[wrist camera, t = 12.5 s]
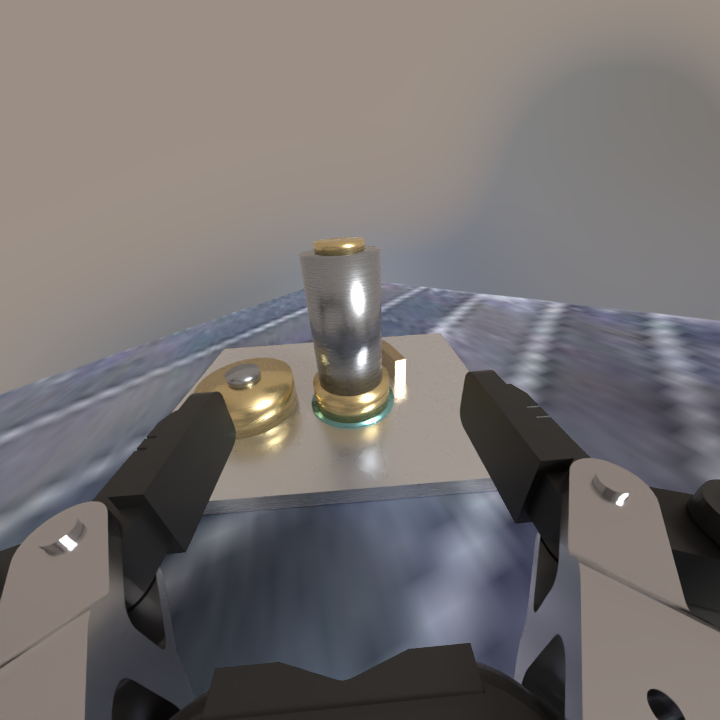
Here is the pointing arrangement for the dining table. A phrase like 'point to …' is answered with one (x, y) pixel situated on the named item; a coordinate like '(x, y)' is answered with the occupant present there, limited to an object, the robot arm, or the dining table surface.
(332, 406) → the silver and brass cylinder
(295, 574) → the dining table surface
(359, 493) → the carrier
